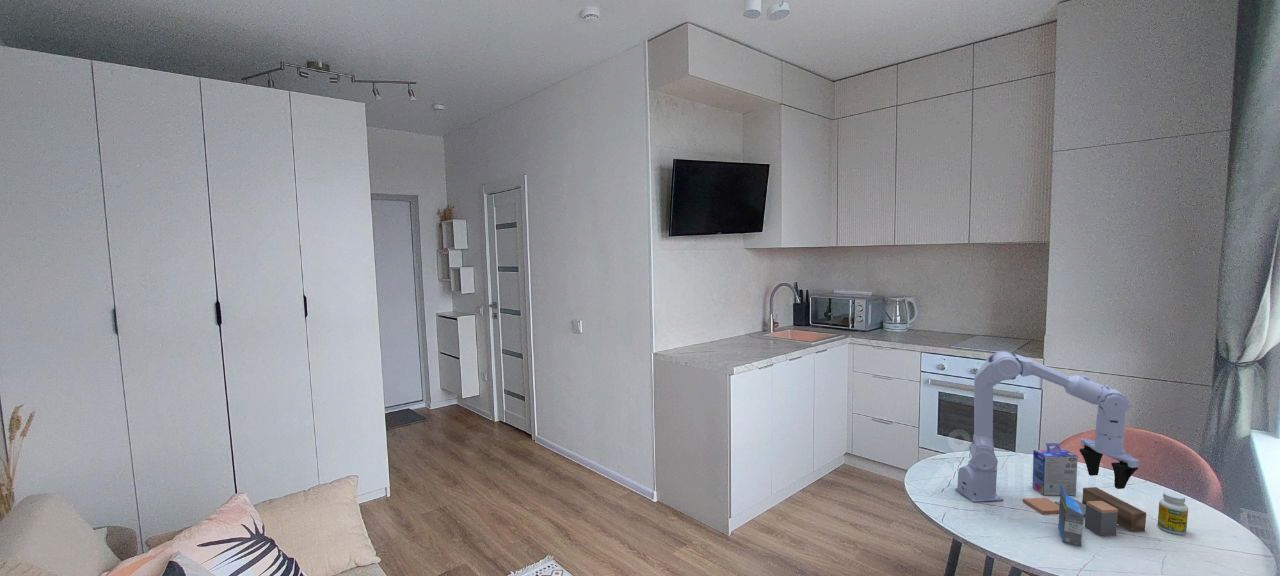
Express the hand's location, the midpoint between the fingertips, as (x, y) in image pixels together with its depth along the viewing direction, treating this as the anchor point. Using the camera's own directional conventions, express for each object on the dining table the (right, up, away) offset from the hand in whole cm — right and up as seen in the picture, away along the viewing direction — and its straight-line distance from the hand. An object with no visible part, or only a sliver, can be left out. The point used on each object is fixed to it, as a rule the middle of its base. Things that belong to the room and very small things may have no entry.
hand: (1106, 481), depth 142 cm
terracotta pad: (-12, -10, +7) cm, 17 cm away
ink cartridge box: (-2, -9, +16) cm, 18 cm away
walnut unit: (+3, -10, +1) cm, 11 cm away
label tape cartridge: (-16, -12, -7) cm, 21 cm away
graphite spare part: (-6, -11, -5) cm, 14 cm away
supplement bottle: (+13, -11, -5) cm, 17 cm away
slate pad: (-4, -10, +5) cm, 12 cm away
